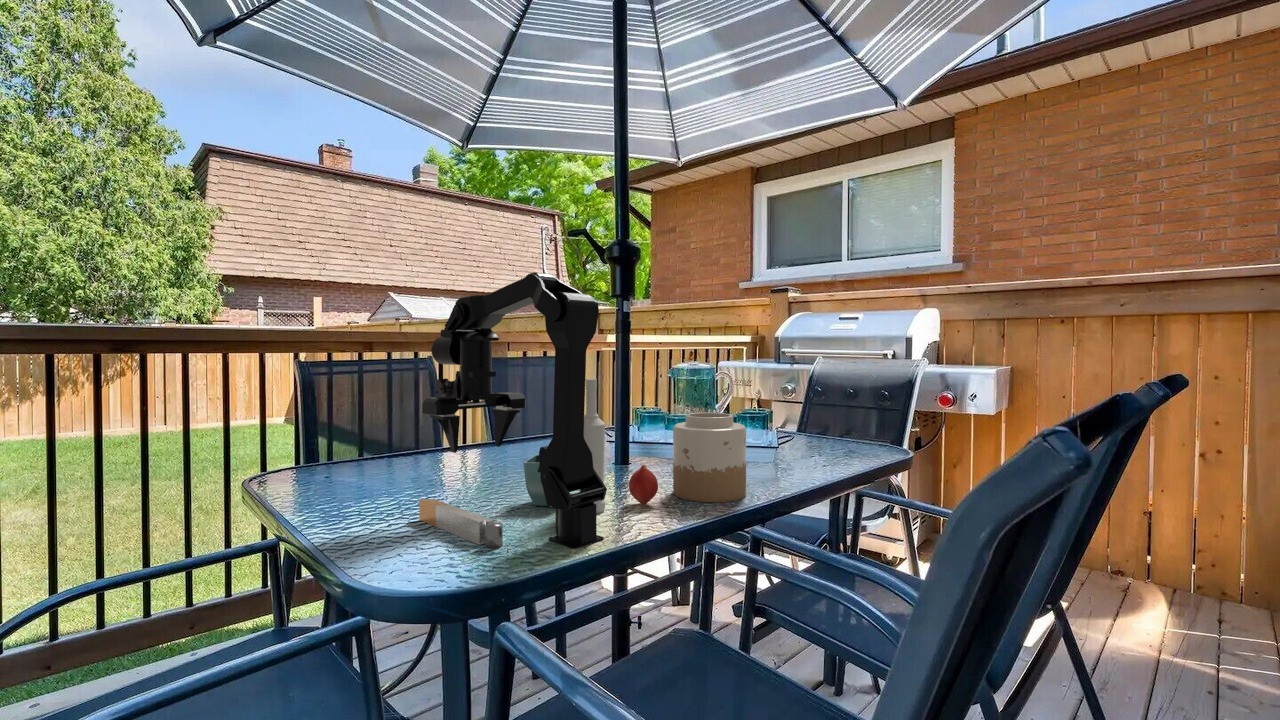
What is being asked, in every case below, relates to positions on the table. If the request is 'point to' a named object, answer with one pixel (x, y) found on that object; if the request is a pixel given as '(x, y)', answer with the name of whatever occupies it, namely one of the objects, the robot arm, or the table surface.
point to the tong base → (491, 528)
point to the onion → (643, 485)
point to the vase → (709, 458)
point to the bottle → (595, 435)
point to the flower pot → (534, 481)
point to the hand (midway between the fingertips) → (476, 449)
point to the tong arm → (453, 521)
